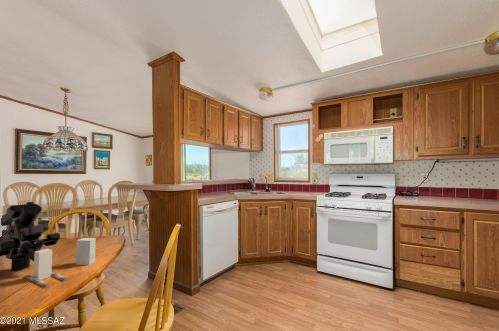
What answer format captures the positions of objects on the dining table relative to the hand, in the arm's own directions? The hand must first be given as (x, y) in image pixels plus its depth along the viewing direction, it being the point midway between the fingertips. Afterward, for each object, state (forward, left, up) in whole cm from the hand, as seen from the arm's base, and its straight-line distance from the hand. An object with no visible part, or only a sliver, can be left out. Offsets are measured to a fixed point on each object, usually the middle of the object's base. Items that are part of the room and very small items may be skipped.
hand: (36, 261), depth 92 cm
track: (+6, +5, -6) cm, 10 cm away
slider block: (+4, +4, -5) cm, 7 cm away
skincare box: (-7, +15, -7) cm, 18 cm away
